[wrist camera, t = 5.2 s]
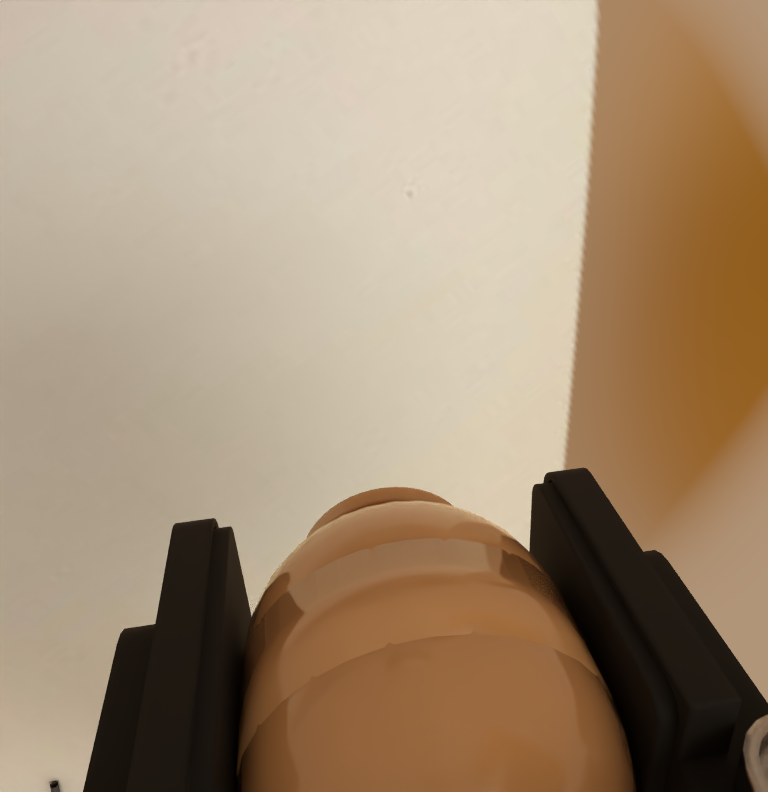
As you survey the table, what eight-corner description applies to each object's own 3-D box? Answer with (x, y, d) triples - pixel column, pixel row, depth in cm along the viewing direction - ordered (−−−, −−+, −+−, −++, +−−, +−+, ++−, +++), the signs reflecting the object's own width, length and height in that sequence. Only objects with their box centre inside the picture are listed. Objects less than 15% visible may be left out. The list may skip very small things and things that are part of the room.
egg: (188, 518, 10) (115, 1006, 5) (465, 389, 10) (660, 787, 5) (325, 690, 12) (364, 1154, 7) (557, 589, 12) (761, 1008, 7)
